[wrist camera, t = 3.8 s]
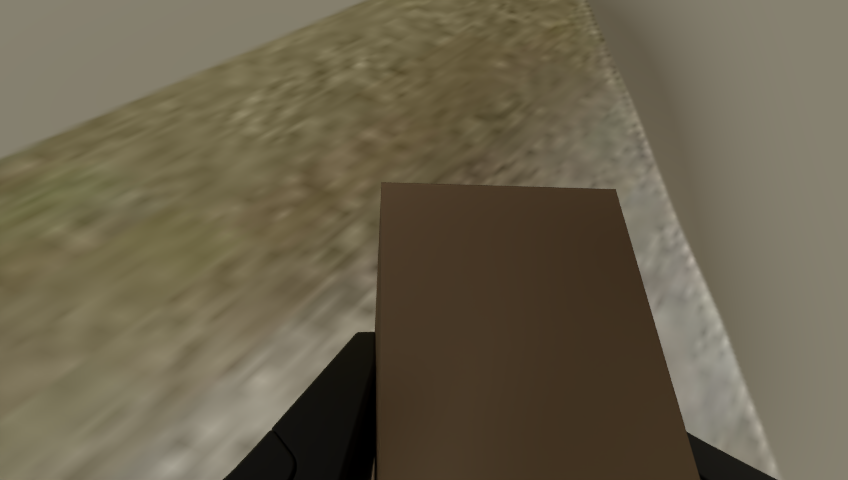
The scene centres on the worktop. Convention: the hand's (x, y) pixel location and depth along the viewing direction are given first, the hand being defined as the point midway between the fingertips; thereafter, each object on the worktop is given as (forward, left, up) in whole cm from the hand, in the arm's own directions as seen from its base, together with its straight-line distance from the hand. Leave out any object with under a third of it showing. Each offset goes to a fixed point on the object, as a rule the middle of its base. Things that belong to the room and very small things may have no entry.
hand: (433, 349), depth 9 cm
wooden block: (-1, 0, -7) cm, 7 cm away
